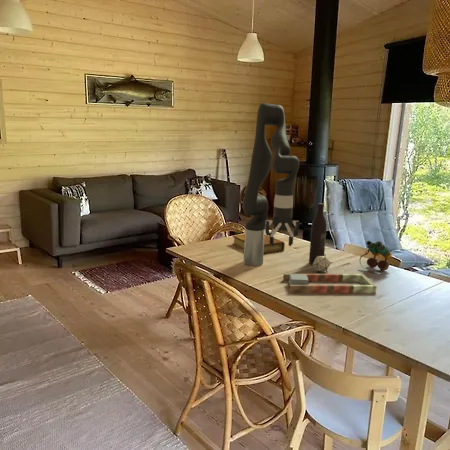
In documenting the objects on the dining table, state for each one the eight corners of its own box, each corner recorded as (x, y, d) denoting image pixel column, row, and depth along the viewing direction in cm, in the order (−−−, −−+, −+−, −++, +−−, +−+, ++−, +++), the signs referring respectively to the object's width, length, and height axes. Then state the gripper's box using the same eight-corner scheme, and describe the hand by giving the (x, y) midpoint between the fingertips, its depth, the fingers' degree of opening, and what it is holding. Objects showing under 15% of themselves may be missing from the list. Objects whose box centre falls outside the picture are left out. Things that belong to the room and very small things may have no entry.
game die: (323, 280, 206) (332, 268, 198) (306, 272, 207) (314, 260, 199) (327, 266, 212) (336, 254, 204) (311, 259, 213) (319, 246, 205)
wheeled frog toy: (389, 279, 208) (399, 250, 211) (380, 270, 198) (390, 240, 201) (361, 272, 217) (370, 244, 220) (351, 263, 207) (361, 234, 210)
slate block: (290, 289, 184) (291, 279, 183) (288, 283, 190) (289, 273, 189) (307, 290, 184) (308, 279, 182) (305, 284, 190) (306, 274, 189)
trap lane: (290, 292, 179) (290, 285, 179) (283, 280, 194) (283, 273, 193) (375, 293, 182) (376, 286, 181) (362, 280, 196) (363, 274, 196)
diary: (284, 252, 239) (284, 241, 237) (255, 256, 230) (255, 245, 228) (260, 241, 258) (260, 231, 257) (232, 245, 249) (232, 235, 248)
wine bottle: (319, 266, 213) (324, 205, 207) (306, 263, 217) (310, 203, 211) (325, 263, 219) (330, 203, 212) (312, 260, 223) (317, 201, 216)
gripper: (267, 207, 174) (265, 247, 178) (303, 207, 176) (300, 248, 179) (264, 203, 182) (262, 242, 185) (298, 204, 183) (296, 243, 187)
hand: (281, 245), depth 182 cm, fingers open, 7 cm apart
